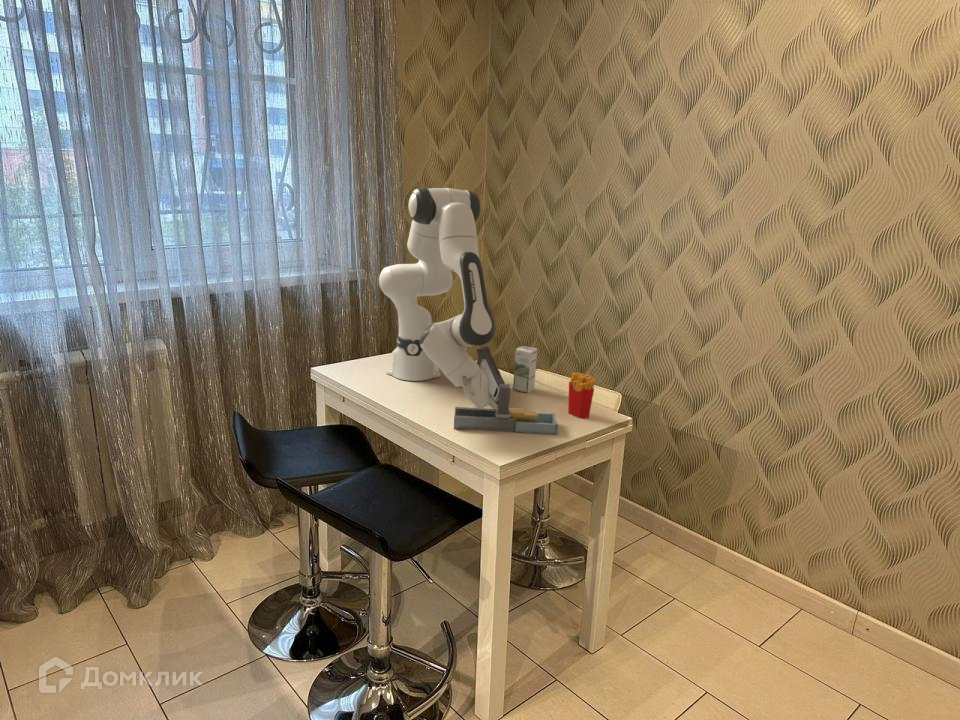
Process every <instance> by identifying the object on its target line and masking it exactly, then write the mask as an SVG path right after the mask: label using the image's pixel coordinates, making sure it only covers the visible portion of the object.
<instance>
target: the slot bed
mask: <svg viewBox="0 0 960 720" xmlns="http://www.w3.org/2000/svg"><path fill="white" fill-rule="evenodd" d="M496 409H497V410H498V408H496ZM496 409H495V410H493V409H492V408H485V407H484V408H483V409H481V410H480V409H478V408H477V407H466V406H455V407H454V417H453V418H454V419H453V430H471V431H472V430H473V431H489V432H508V433H514V430H515V427H514V419H512V418H495V417H496Z"/></svg>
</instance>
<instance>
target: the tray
mask: <svg viewBox="0 0 960 720" xmlns="http://www.w3.org/2000/svg"><path fill="white" fill-rule="evenodd" d="M558 430H559V424H558V420H557V416H556V413H552V412H551V413H550V412H538V423H532V422H516V425H515V426H514V432H515V433H517V434H518V433H519V434H536V435H539V434H540V435H553V436H554V435H555V436H557V435H558V432H559V431H558Z"/></svg>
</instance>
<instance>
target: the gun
mask: <svg viewBox="0 0 960 720" xmlns="http://www.w3.org/2000/svg"><path fill="white" fill-rule="evenodd" d="M476 353H477V360H476V363H477V364H478V365H479V368H480V369H481V370H482V371H483V372H484V374H485V375H486V376H487V378H488V380H489V392H490V393H491V394H492V396H493V397H494V399H495V400H496V401H497V402H498V399H499V384H506V383H505V381H504V378H503V376H502V374H501V372H500V369H499V368H498V365H497V363H496V361H495V360H494V358H493V356H492V355H493V354H491V349H490V347H489V346H483V348H476Z"/></svg>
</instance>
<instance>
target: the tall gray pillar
mask: <svg viewBox="0 0 960 720" xmlns="http://www.w3.org/2000/svg"><path fill="white" fill-rule="evenodd" d="M510 398H511V384H509V383H508V384H507V383H505V384H499V399H498V407H497V408H496V417H495V418H510ZM497 409H498V410H497Z"/></svg>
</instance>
